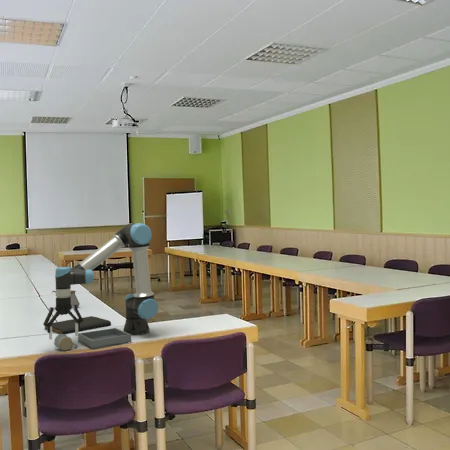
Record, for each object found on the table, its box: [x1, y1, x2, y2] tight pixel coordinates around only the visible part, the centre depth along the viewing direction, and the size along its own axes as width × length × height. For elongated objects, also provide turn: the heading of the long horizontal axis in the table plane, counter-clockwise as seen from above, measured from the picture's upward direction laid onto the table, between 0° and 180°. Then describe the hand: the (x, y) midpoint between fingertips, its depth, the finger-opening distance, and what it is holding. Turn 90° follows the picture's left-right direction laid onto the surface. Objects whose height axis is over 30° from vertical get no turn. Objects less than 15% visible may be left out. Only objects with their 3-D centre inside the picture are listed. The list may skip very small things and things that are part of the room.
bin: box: [77, 327, 132, 350], centre depth 285 cm, size 22×22×4 cm
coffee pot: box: [51, 290, 80, 308], centre depth 395 cm, size 21×12×15 cm, turn 132°
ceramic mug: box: [54, 334, 78, 352], centre depth 273 cm, size 11×8×8 cm
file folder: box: [44, 316, 112, 335], centre depth 326 cm, size 33×4×24 cm
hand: (63, 337), depth 272 cm, fingers open, 13 cm apart
